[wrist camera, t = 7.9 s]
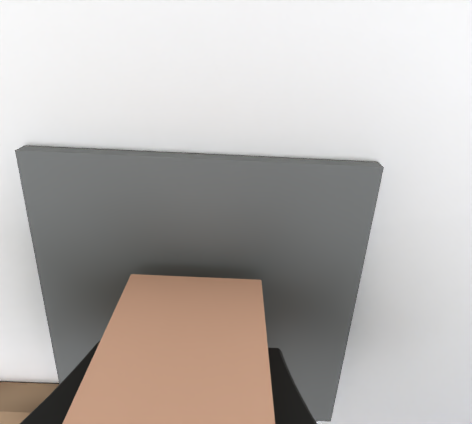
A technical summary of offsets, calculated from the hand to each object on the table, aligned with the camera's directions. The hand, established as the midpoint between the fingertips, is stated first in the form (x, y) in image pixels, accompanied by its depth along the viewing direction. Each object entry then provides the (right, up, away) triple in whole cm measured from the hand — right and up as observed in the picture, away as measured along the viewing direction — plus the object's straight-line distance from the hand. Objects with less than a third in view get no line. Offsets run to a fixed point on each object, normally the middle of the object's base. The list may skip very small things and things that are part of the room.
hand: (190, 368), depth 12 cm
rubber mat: (0, +1, +3) cm, 4 cm away
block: (0, +1, +2) cm, 2 cm away
